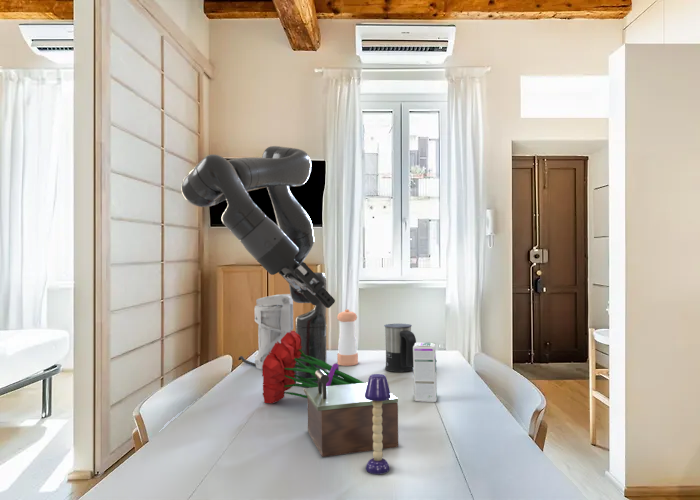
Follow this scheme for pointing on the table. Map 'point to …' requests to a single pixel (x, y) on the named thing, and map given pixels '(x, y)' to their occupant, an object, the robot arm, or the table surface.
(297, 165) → the robot arm
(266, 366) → the bouquet
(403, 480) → the table surface
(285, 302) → the lantern
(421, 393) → the syrup box
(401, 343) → the milk frother
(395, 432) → the crate
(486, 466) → the table surface
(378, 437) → the toy lamp
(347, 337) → the pepper shaker
